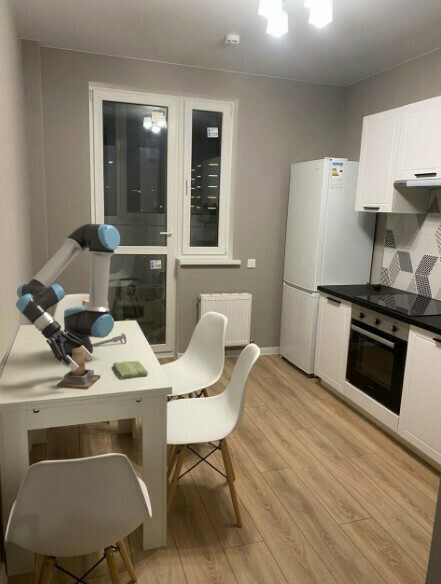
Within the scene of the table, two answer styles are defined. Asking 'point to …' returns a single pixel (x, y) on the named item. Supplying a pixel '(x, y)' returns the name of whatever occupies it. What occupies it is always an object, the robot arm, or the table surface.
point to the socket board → (79, 380)
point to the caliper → (111, 340)
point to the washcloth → (129, 369)
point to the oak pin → (79, 361)
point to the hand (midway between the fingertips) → (83, 363)
